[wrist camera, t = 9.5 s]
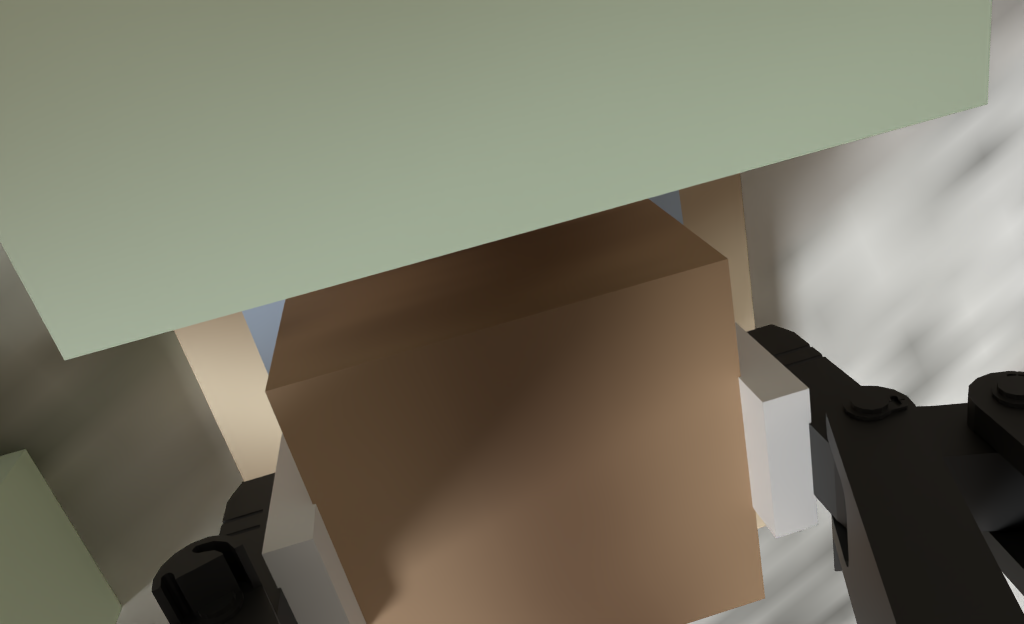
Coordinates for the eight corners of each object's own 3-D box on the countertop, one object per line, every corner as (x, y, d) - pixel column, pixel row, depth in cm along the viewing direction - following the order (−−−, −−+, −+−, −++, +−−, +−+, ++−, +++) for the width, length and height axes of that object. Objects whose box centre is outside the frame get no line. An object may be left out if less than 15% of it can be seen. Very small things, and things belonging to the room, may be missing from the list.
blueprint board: (-69, -290, 13) (-136, -334, 12) (635, -440, 14) (676, -502, 13) (331, 609, 23) (328, 665, 21) (742, 482, 24) (774, 524, 22)
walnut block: (389, 508, 19) (402, 715, 14) (294, 254, 16) (265, 391, 11) (653, 429, 20) (764, 598, 14) (608, 168, 17) (728, 258, 11)
